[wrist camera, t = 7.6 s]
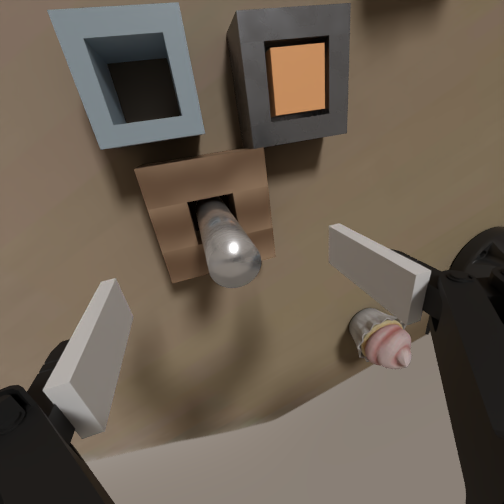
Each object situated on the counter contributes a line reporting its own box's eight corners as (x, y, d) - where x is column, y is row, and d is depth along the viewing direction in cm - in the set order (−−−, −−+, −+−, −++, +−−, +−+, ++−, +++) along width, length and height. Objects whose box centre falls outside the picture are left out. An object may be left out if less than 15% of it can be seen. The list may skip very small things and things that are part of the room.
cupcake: (342, 306, 42) (386, 350, 33) (389, 295, 43) (442, 334, 35) (338, 347, 46) (376, 396, 37) (381, 334, 47) (427, 379, 39)
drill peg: (227, 219, 30) (264, 280, 17) (199, 225, 30) (214, 293, 16) (221, 191, 29) (257, 233, 15) (192, 197, 28) (202, 246, 15)
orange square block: (308, 112, 27) (324, 108, 24) (264, 118, 26) (275, 115, 23) (306, 55, 24) (324, 42, 21) (258, 60, 24) (270, 47, 20)
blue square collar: (199, 135, 26) (205, 133, 20) (117, 147, 24) (100, 149, 19) (178, 35, 22) (178, 2, 17) (81, 43, 21) (47, 9, 15)
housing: (324, 134, 29) (346, 133, 25) (243, 148, 27) (253, 149, 23) (323, 25, 25) (350, 3, 21) (226, 33, 23) (236, 10, 19)
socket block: (264, 243, 33) (275, 257, 29) (173, 265, 31) (172, 283, 27) (251, 146, 28) (263, 147, 24) (141, 165, 25) (133, 169, 21)
